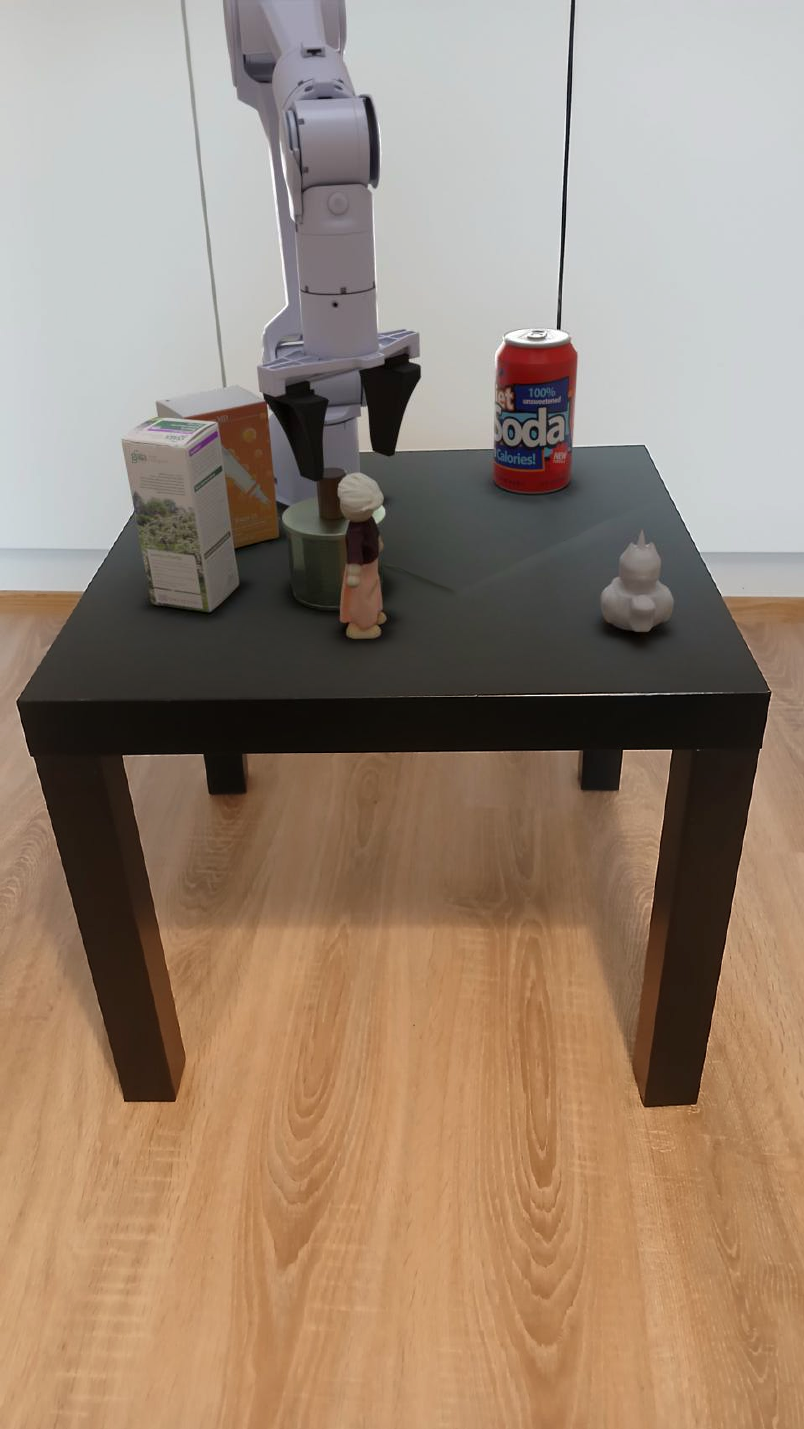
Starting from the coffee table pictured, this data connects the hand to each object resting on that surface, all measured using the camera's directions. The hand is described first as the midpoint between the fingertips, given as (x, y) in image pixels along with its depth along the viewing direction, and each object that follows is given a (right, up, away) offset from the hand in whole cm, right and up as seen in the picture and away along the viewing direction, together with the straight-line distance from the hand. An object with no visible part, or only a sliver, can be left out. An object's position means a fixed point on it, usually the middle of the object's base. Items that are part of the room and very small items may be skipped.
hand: (348, 465), depth 85 cm
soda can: (+18, +3, +23) cm, 29 cm away
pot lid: (-1, -4, +1) cm, 4 cm away
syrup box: (-13, -10, +4) cm, 17 cm away
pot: (-1, -10, +4) cm, 11 cm away
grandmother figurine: (+1, -14, -1) cm, 14 cm away
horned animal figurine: (+22, -14, -3) cm, 26 cm away
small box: (-12, -4, +14) cm, 19 cm away
